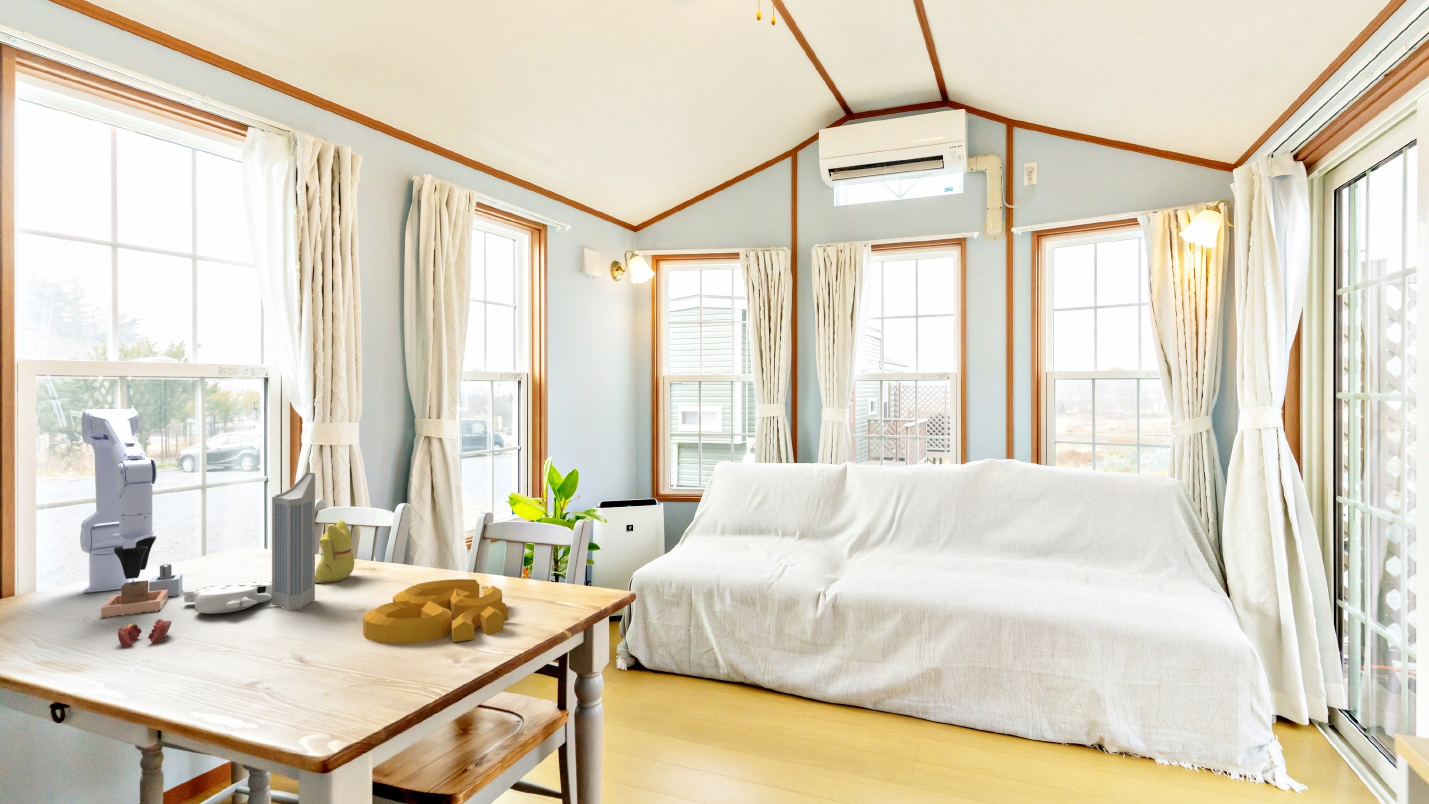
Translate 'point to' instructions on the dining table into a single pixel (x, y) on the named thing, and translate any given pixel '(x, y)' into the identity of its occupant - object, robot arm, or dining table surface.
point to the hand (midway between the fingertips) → (135, 573)
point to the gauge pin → (166, 572)
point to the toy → (229, 597)
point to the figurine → (335, 554)
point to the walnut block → (134, 592)
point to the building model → (294, 545)
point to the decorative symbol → (436, 613)
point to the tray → (134, 604)
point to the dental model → (133, 632)
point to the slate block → (167, 584)
